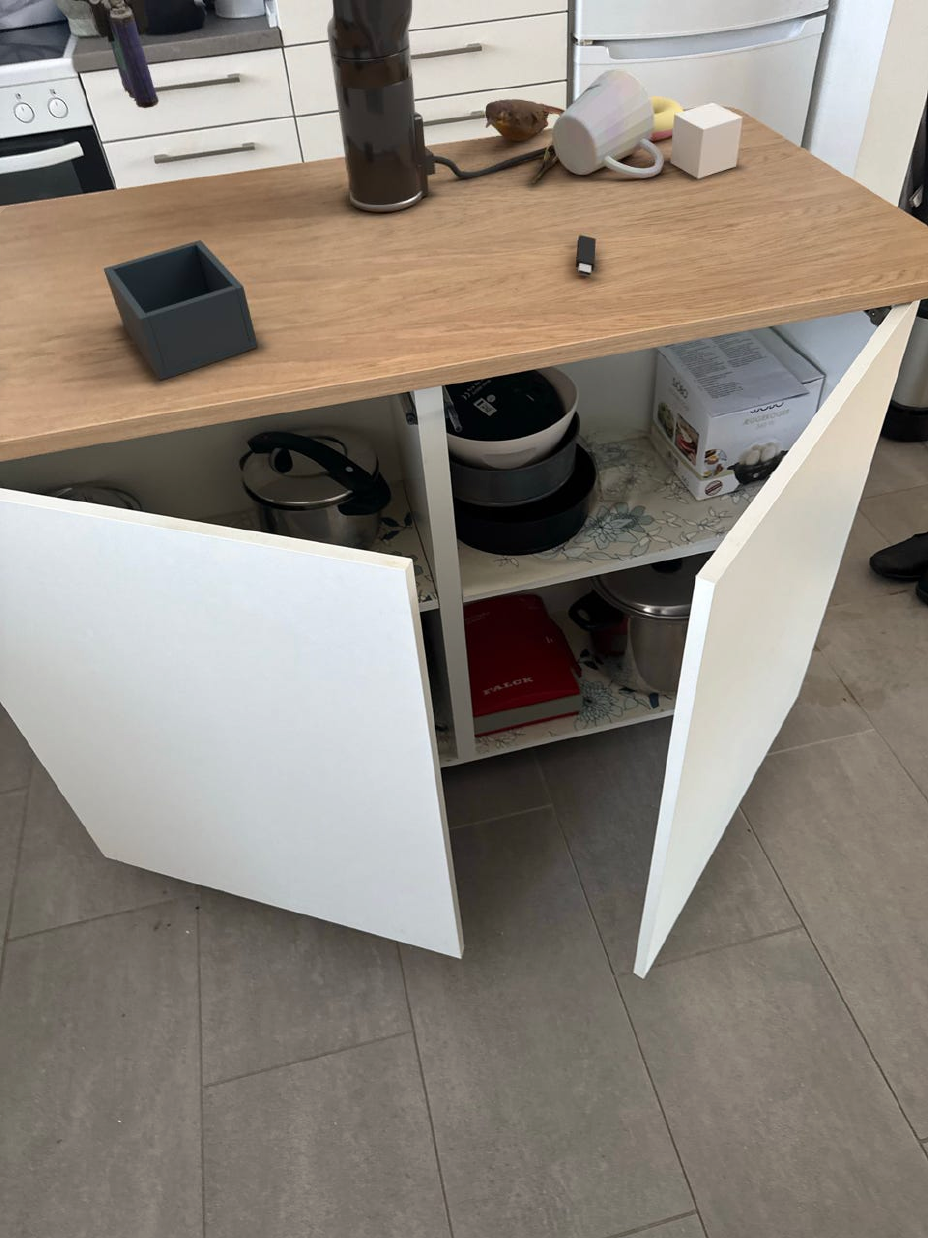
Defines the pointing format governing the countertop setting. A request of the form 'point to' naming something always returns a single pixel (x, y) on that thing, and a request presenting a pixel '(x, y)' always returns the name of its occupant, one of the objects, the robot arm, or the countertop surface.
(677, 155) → the white cube
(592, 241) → the usb flash drive
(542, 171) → the brown clothespin
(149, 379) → the countertop surface
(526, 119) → the bird sculpture
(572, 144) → the mug
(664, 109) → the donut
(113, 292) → the box
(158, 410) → the countertop surface
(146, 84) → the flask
